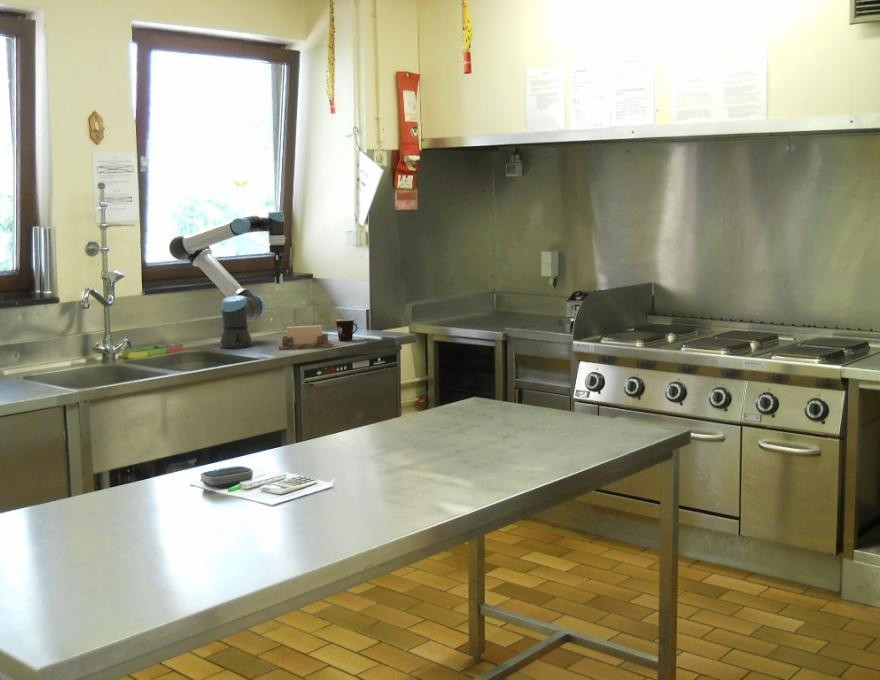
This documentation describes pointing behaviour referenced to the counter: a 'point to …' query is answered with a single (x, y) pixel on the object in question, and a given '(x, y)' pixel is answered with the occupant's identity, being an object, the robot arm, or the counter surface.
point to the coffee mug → (345, 329)
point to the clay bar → (304, 334)
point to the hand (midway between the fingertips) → (279, 288)
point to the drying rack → (321, 343)
